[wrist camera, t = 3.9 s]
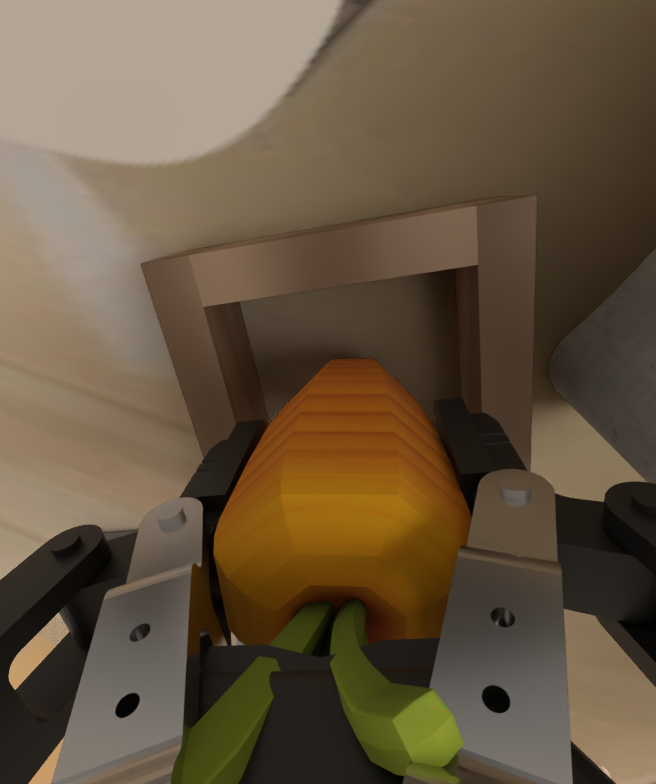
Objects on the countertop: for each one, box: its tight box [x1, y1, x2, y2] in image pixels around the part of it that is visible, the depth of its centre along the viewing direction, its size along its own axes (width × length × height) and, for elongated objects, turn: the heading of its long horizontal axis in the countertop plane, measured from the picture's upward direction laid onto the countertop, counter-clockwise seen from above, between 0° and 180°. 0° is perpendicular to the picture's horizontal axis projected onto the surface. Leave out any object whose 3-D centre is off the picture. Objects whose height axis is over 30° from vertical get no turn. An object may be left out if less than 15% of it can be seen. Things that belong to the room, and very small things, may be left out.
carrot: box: [182, 358, 472, 784], centre depth 10 cm, size 5×5×15 cm
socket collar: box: [141, 196, 537, 472], centre depth 16 cm, size 11×11×4 cm
